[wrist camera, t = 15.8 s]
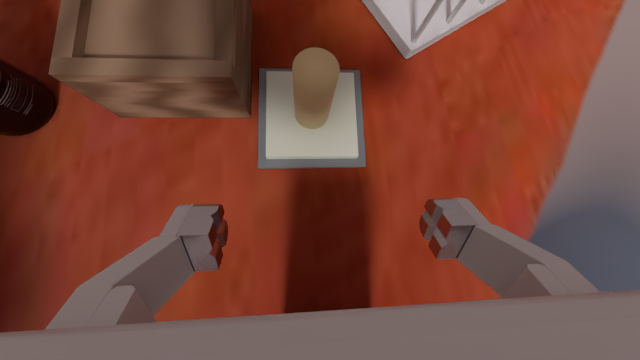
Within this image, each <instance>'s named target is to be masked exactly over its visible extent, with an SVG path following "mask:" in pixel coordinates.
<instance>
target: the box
mask: <svg viewBox="0 0 640 360" xmlns="http://www.w3.org/2000/svg"><path fill="white" fill-rule="evenodd" d="M251 57H252V8H251V3H250V0H61V4H60V10H59V16H58V21H57V27H56V33H55V39H54V44H53V50H52V56H51V62H50V67H49V73H48V74H49V75H51V76H52V77H54V78H56V79H57V80H59V81H61V82H62V83H64V84H66V85H67V86H69V87H71V88H72V89H74V90H76V91H78V92H79V93H81V94H83V95H84V96H86V97H88V98H89V99H91V100H93V101H94V102H96V103H98V104H99V105H101V106H103V107H104V108H106V109H108V110H109V111H111V112H113V113H114V114H116V115H118V116H119V117H208V118H250V109H251Z"/></svg>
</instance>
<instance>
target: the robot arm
mask: <svg viewBox="0 0 640 360" xmlns="http://www.w3.org/2000/svg"><path fill="white" fill-rule="evenodd" d="M424 207H425V209H426V212H424V213H423V214H422V215H421V218H420V221H419V222H420V230H421V233H422V235H423V237H424V238H426V239H427V240H429V241H430V242H429V247H430V249H431V251H432V253H433V254H434V256H435V258H436V259H457V260H458V261H459V262H460V263H461V264H463V265H464V266H465V267H466V268H468V269H469V270H470V271H471V272H473V273H474V274H475V275H476V276H478V277H479V278H480V279H481V280H482V281H484V282H485V283H486V284H487V285H489V286H490V287H491V288H492V289H494V290H495V291H496V292H497V293H498V294H500V295H501V296H502V297H501V298H500V299H492V300H477V301H462V302H448V303H433V304H419V305H404V306H389V307H375V308H360V309H344V310H329V311H314V312H299V313H284V314H269V315H254V316H239V317H225V318H210V319H195V320H180V321H165V322H157V321H156V320H155V318H154V317H153V316H154V315H155V314H156V313H157V312H158V310H159V309H160V308H161V307H162V306H163V305H164V304H165V303H166V302H167V301H168V300H169V299H170V298H171V297H172V296H173V295H174V294H175V293H176V292H177V291H178V290H179V288H180V287H181V286H182V285H183V284H184V283H185V282H186V281H187V280H188V279H189V278H190V277H191V276H192V275H193V274H194V272H196V271H209V270H219V267H220V264H221V260H222V257H223V253H222V248H223V247H224V246H225V245H226V242H227V238H228V225H227V221H226V220H225V219H223V216H224V213H225V212H224V209H223V206H222V205H221V204H194V205H179V206H177V207H176V208H175V210H174V212H173V214H172V215H171V217H170V219H169V220H168V222H167V224H166V225H165V227H164V229H163V230H162V232H161V234H160V235H159V237H154V238H152V239H151V240H149V241H148V242H146V243H144V244H143V245H141V246H140V247H138V248H137V249H135V250H134V251H132V252H131V253H129V254H128V255H126V256H124V257H123V258H121V259H120V260H118V261H117V262H115V263H114V264H112V265H111V266H109V267H108V268H106V269H105V270H103V271H101V272H100V273H98V274H97V275H95V276H94V277H92V278H91V279H89V280H88V281H86V282H85V283H83V284H81V285H80V286H78V287H77V289H76V290H75V291H74V292H73V294H72V295H71V296H70V298H69V299H68V300H67V301H66V303H65V304H64V305H63V307H62V308H61V309H60V310H59V312H58V313H57V314H56V316H55V317H54V318H53V319H52V321H51V322H50V323H49V325H48V326H47V327H46V328H45V330H30V331H15V332H0V360H640V290H627V291H612V292H599V291H598V290H597V289H596V288H595V287H594V286H593V285H592V284H591V283H590V282H589V281H588V280H586V279H585V278H584V277H583V276H582V275H581V274H580V273H579V272H578V271H577V270H576V269H574V267H572V266H571V265H570V264H569V263H568V262H567V261H565V260H563V259H561V258H559V257H557V256H555V255H553V254H551V253H549V252H548V251H546V250H544V249H541V248H540V247H538V246H536V245H534V244H532V243H530V242H528V241H526V240H524V239H522V238H520V237H518V236H516V235H514V234H512V233H510V232H508V231H506V230H504V229H503V228H501V227H499V226H497V225H491V224H490V223H489V221H488V220H487V219H486V218H485V217H484V216H483V215H482V214H481V213H480V212H479V211H478V210H477V208H476V207H475V206H474V205H473V204H472V203H471V202H470V201H469V200H468V199H466V198H452V199H429V200H428V201H427V202H426V204H425V206H424Z"/></svg>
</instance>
